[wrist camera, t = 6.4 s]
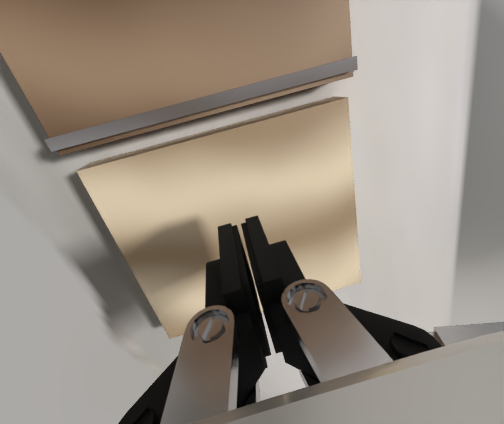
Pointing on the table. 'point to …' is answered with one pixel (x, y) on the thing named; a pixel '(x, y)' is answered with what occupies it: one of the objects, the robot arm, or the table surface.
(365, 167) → the table surface
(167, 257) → the oak plank
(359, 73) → the table surface
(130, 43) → the walnut board
